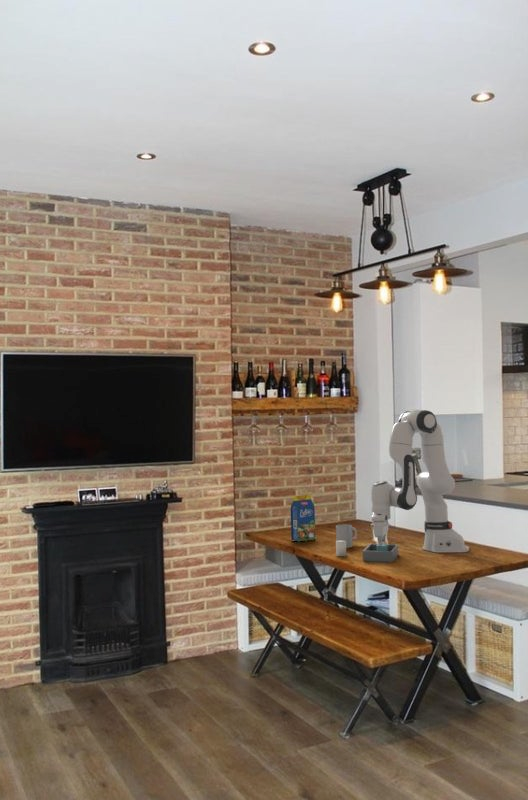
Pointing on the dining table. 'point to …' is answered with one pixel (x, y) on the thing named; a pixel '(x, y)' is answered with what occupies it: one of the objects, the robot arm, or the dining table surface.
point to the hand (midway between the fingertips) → (382, 543)
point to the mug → (345, 534)
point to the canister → (341, 548)
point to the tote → (380, 554)
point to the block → (382, 547)
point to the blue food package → (302, 518)
